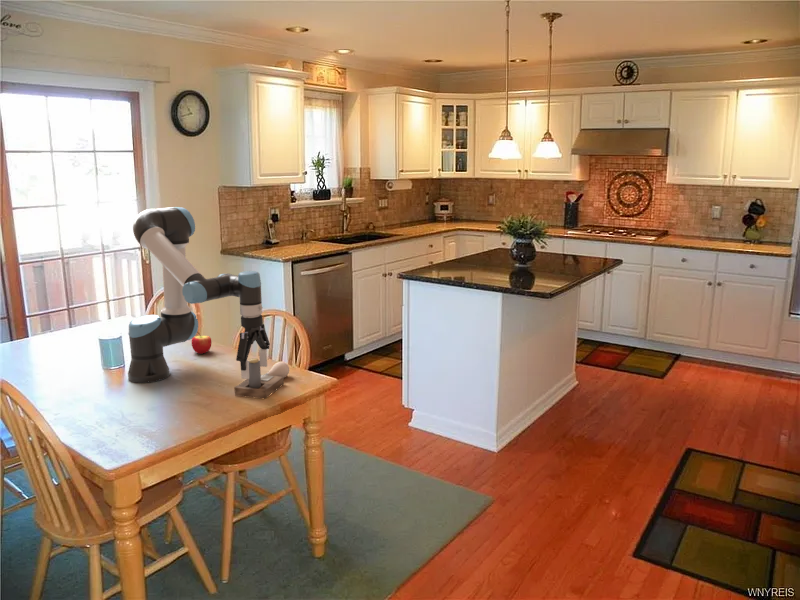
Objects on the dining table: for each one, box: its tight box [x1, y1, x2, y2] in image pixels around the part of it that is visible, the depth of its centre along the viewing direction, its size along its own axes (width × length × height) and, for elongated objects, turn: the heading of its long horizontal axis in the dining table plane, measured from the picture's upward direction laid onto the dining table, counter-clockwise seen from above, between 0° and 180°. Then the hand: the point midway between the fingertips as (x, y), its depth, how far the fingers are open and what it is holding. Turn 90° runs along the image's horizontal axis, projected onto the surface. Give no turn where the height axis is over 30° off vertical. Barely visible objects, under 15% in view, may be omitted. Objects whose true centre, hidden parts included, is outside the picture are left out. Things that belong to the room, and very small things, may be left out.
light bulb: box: [263, 361, 290, 378], centre depth 247 cm, size 7×7×11 cm
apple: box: [191, 331, 212, 355], centre depth 277 cm, size 8×8×10 cm
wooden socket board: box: [234, 374, 285, 400], centre depth 236 cm, size 12×15×3 cm
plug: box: [247, 358, 262, 389], centre depth 231 cm, size 4×4×13 cm
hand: (254, 372), depth 231 cm, fingers open, 13 cm apart
